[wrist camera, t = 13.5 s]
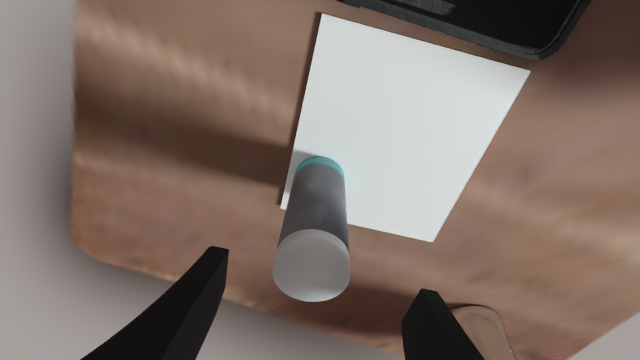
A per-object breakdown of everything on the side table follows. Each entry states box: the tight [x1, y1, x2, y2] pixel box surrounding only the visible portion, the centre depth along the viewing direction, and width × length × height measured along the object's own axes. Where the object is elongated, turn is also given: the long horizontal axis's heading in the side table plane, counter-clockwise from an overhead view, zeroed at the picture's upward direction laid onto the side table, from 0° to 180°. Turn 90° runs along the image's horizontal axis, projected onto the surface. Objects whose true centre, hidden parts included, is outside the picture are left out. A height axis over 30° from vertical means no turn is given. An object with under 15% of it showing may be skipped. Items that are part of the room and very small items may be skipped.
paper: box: [280, 13, 531, 242], centre depth 18 cm, size 11×12×1 cm
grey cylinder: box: [272, 156, 350, 302], centre depth 16 cm, size 3×3×8 cm
